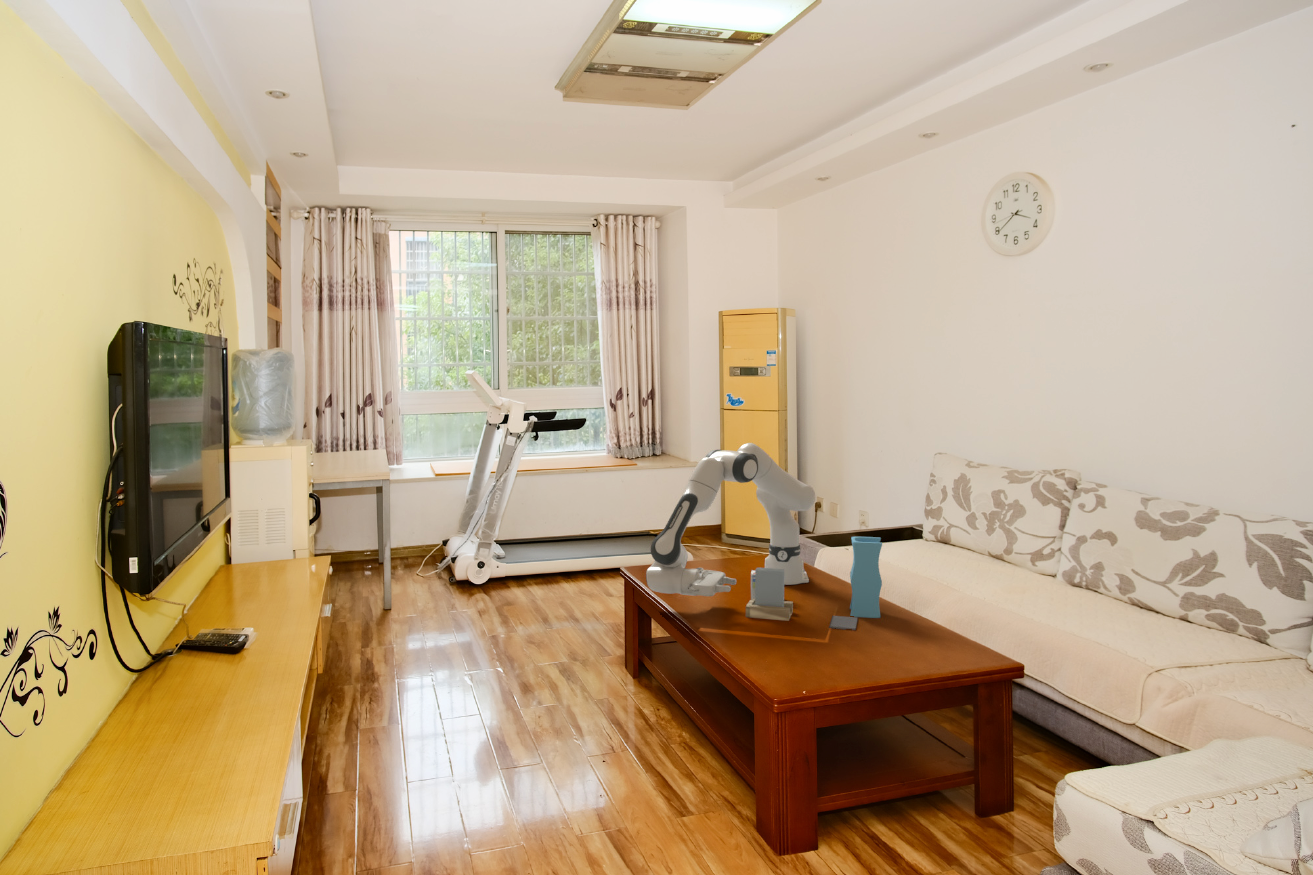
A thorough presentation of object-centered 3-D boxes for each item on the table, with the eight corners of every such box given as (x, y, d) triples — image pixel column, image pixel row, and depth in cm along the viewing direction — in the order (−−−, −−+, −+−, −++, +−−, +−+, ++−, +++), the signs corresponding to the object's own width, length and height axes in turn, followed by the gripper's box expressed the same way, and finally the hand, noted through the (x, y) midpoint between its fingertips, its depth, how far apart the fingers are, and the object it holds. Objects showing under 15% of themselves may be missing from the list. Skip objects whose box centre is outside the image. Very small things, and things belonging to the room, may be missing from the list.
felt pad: (820, 616, 279) (820, 614, 279) (857, 619, 276) (857, 617, 275) (816, 626, 267) (816, 625, 267) (855, 630, 264) (855, 628, 264)
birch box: (751, 611, 284) (751, 598, 284) (792, 614, 280) (792, 601, 280) (745, 619, 275) (745, 606, 274) (788, 623, 271) (788, 609, 271)
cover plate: (756, 611, 281) (757, 567, 279) (783, 614, 278) (784, 569, 277) (754, 614, 277) (755, 569, 276) (782, 617, 275) (782, 571, 273)
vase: (880, 618, 277) (882, 543, 275) (850, 616, 279) (851, 542, 277) (879, 609, 286) (880, 537, 284) (849, 608, 288) (850, 536, 286)
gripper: (685, 580, 274) (726, 583, 270) (699, 566, 293) (739, 569, 290) (685, 599, 274) (726, 602, 270) (699, 584, 294) (738, 587, 290)
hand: (733, 585), depth 280 cm, fingers open, 8 cm apart
